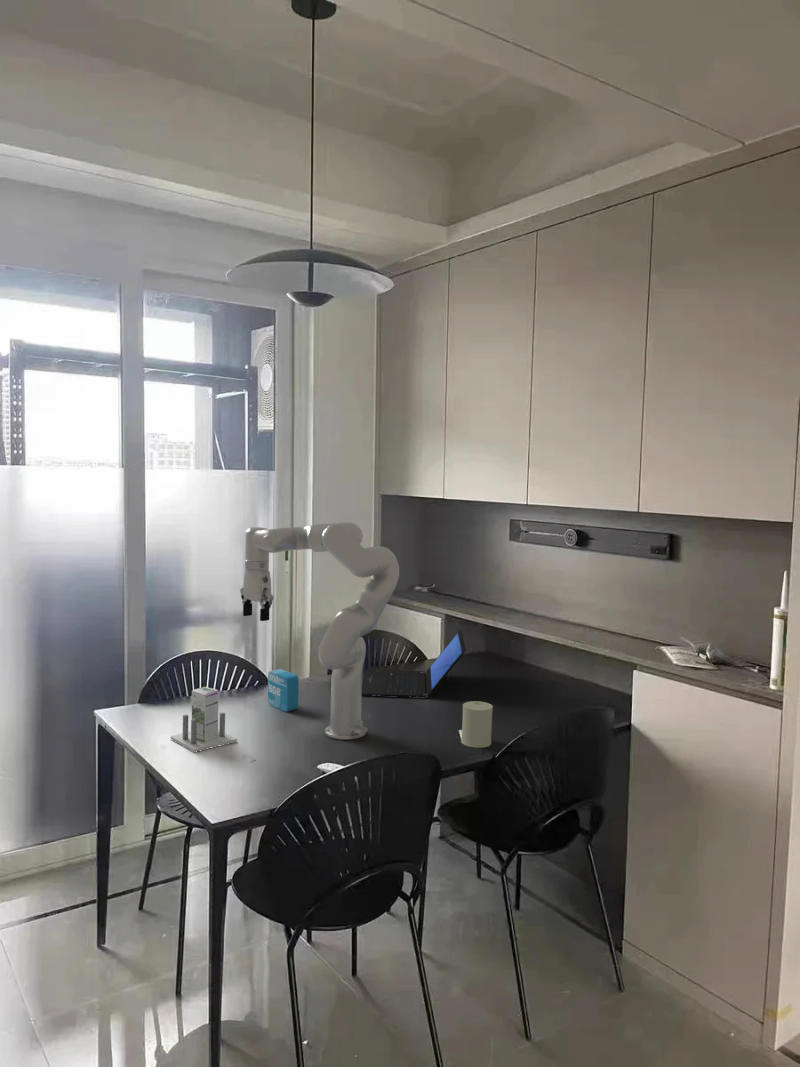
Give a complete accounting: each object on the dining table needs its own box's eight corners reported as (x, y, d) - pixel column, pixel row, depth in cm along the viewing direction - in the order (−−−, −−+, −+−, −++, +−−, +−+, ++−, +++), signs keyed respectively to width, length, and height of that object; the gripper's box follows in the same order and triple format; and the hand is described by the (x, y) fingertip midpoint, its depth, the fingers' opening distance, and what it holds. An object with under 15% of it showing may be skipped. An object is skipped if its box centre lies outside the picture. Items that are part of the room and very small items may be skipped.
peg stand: (237, 742, 233) (237, 715, 233) (194, 752, 224) (194, 725, 223) (212, 729, 243) (212, 704, 243) (170, 739, 234) (170, 713, 233)
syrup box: (219, 736, 234) (219, 689, 233) (204, 742, 229) (204, 693, 228) (205, 732, 237) (206, 685, 236) (190, 738, 232) (191, 690, 231)
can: (487, 737, 245) (488, 699, 244) (494, 747, 236) (496, 708, 235) (458, 737, 244) (459, 699, 243) (464, 748, 235) (466, 708, 234)
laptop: (366, 673, 316) (367, 625, 314) (459, 677, 315) (461, 629, 314) (359, 697, 283) (361, 644, 281) (464, 702, 282) (466, 648, 280)
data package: (267, 704, 270) (267, 670, 269) (278, 702, 274) (278, 668, 273) (287, 713, 262) (288, 677, 261) (298, 710, 265) (299, 675, 264)
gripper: (282, 568, 251) (281, 621, 252) (251, 562, 263) (250, 612, 264) (262, 569, 245) (261, 623, 247) (232, 563, 258) (231, 615, 259)
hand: (256, 618), depth 256 cm, fingers open, 9 cm apart
